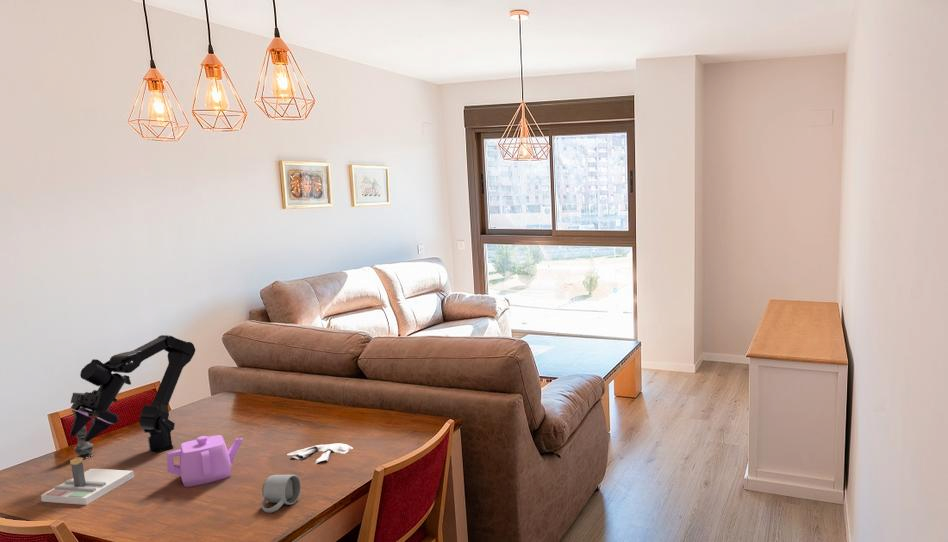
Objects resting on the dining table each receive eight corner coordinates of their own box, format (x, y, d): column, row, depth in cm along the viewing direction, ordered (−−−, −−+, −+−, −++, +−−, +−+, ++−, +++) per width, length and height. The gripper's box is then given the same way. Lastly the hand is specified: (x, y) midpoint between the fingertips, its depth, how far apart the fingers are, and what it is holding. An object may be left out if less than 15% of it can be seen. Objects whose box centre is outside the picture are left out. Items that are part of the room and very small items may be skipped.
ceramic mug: (277, 493, 183) (274, 468, 182) (302, 496, 181) (299, 470, 180) (254, 512, 173) (250, 485, 172) (280, 515, 171) (277, 488, 170)
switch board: (92, 474, 205) (91, 466, 205) (134, 476, 201) (133, 468, 201) (41, 501, 188) (40, 492, 188) (86, 504, 184) (85, 495, 184)
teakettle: (163, 486, 193) (158, 446, 192) (202, 462, 210) (198, 425, 208) (211, 490, 188) (206, 449, 187) (247, 465, 205) (243, 428, 203)
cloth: (362, 447, 215) (361, 440, 214) (320, 475, 195) (319, 468, 195) (312, 441, 223) (312, 434, 223) (268, 467, 204) (267, 460, 204)
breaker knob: (80, 484, 193) (76, 457, 192) (86, 484, 192) (82, 457, 191) (74, 487, 191) (70, 460, 190) (80, 488, 190) (76, 460, 189)
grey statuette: (85, 460, 218) (80, 426, 216) (70, 459, 219) (65, 425, 217) (99, 453, 223) (94, 419, 222) (84, 452, 225) (79, 419, 223)
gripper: (71, 377, 205) (40, 423, 198) (100, 385, 194) (69, 434, 188) (101, 391, 213) (73, 436, 206) (131, 399, 202) (102, 447, 195)
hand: (78, 438), depth 198 cm, fingers open, 9 cm apart
